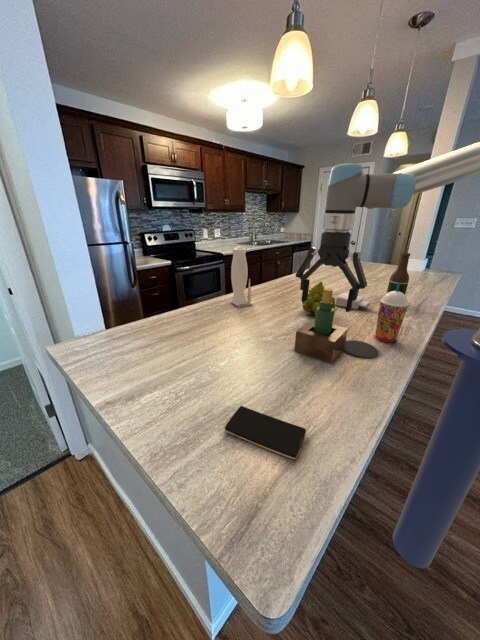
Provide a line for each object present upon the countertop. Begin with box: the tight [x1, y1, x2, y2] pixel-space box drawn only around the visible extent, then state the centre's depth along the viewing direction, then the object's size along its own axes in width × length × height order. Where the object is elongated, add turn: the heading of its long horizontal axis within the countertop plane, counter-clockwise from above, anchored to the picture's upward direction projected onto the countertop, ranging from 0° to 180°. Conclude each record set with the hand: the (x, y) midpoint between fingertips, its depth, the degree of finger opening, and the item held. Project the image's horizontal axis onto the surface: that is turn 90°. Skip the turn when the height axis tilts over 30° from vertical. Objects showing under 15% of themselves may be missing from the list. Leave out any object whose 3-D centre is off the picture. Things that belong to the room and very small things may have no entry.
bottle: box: [313, 287, 336, 336], centre depth 81 cm, size 5×5×20 cm
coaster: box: [342, 340, 379, 359], centre depth 84 cm, size 11×11×1 cm
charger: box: [335, 292, 374, 311], centre depth 121 cm, size 5×9×15 cm
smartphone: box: [224, 405, 307, 460], centre depth 52 cm, size 7×1×15 cm
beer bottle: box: [386, 252, 411, 296], centre depth 123 cm, size 8×8×24 cm
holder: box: [293, 318, 349, 364], centre depth 83 cm, size 12×12×7 cm
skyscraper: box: [230, 243, 253, 309], centre depth 119 cm, size 8×8×28 cm
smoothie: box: [374, 283, 410, 343], centre depth 88 cm, size 8×8×20 cm
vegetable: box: [301, 281, 339, 317], centre depth 112 cm, size 15×16×15 cm
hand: (325, 305), depth 79 cm, fingers open, 13 cm apart
